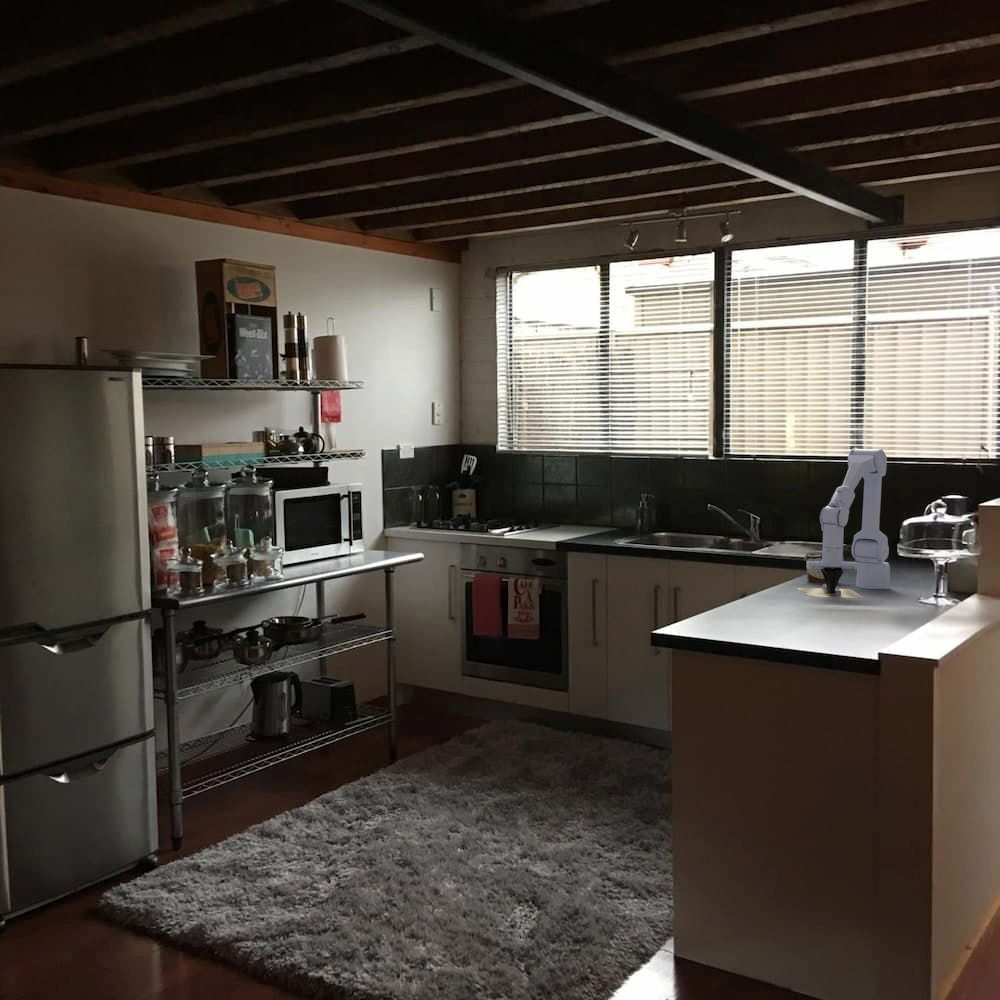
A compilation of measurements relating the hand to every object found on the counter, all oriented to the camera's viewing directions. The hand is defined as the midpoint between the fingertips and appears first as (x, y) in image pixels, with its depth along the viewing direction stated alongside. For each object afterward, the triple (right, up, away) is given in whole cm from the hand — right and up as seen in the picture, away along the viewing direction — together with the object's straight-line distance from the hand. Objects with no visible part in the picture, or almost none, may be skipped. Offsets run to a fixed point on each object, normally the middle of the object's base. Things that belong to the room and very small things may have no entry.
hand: (830, 593), depth 318 cm
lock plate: (+1, -1, +5) cm, 5 cm away
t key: (+2, 0, +5) cm, 5 cm away
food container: (+5, 0, +27) cm, 28 cm away
